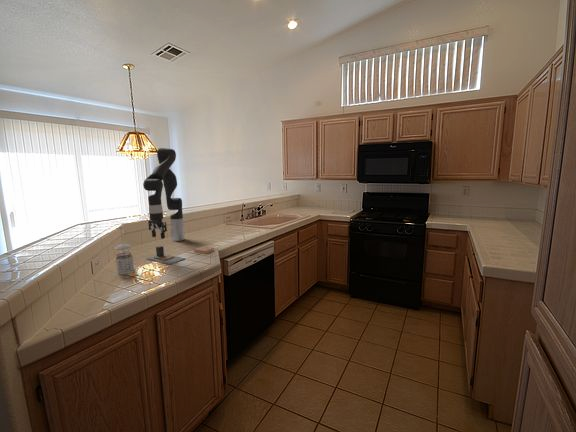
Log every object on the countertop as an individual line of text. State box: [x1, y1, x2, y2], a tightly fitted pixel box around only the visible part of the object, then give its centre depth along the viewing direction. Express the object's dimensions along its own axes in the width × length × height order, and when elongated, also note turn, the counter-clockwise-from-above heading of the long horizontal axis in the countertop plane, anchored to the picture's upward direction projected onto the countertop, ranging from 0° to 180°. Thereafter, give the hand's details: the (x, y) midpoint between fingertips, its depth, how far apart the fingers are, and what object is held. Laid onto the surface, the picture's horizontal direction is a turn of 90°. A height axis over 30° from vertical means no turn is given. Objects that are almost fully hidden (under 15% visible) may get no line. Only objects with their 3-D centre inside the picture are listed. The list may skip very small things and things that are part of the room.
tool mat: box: [146, 253, 186, 265], centre depth 173 cm, size 22×11×1 cm, turn 60°
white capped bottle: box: [114, 226, 136, 275], centre depth 151 cm, size 10×12×25 cm
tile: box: [193, 246, 215, 255], centre depth 188 cm, size 2×8×10 cm
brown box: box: [154, 245, 175, 261], centre depth 173 cm, size 10×7×7 cm
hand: (158, 237), depth 173 cm, fingers open, 8 cm apart
